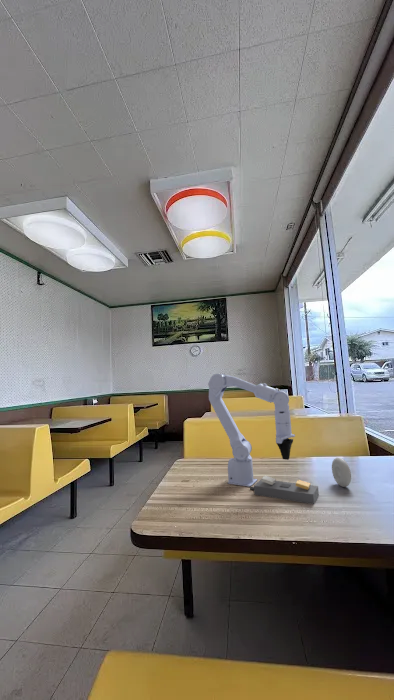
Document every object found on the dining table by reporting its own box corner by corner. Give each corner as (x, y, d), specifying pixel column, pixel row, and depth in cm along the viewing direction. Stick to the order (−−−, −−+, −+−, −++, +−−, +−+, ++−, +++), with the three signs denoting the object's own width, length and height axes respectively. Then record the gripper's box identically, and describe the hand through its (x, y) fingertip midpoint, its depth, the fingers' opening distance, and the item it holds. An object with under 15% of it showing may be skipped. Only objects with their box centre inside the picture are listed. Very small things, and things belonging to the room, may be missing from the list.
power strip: (246, 493, 107) (245, 484, 108) (254, 486, 114) (254, 477, 114) (314, 504, 95) (313, 493, 95) (318, 495, 102) (317, 485, 102)
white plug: (261, 481, 107) (261, 478, 107) (264, 478, 110) (265, 475, 110) (272, 485, 105) (272, 482, 105) (275, 481, 108) (275, 479, 108)
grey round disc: (354, 490, 104) (351, 461, 105) (345, 491, 104) (342, 461, 105) (340, 481, 114) (337, 454, 115) (331, 481, 114) (328, 454, 115)
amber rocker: (295, 485, 101) (295, 482, 101) (298, 482, 104) (298, 479, 104) (308, 489, 98) (308, 486, 98) (310, 486, 101) (310, 483, 101)
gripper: (288, 426, 107) (291, 465, 106) (298, 420, 120) (301, 455, 118) (269, 425, 111) (272, 463, 110) (280, 419, 123) (283, 453, 122)
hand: (286, 459), depth 114 cm, fingers closed
